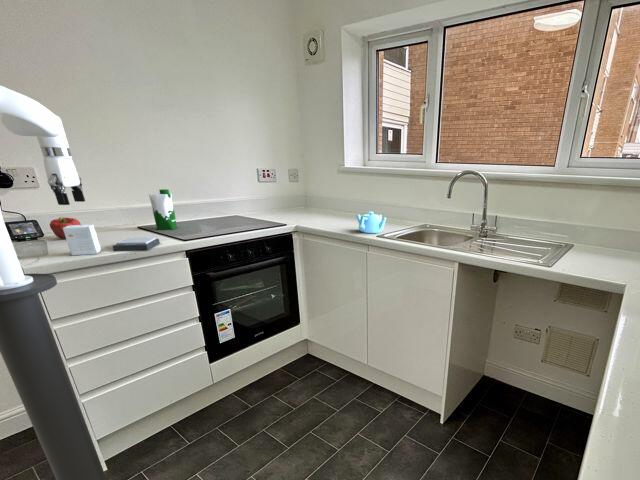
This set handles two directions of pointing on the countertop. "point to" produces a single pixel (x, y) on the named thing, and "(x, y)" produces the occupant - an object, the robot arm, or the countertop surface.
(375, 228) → the teapot
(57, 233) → the vegetable
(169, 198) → the milk carton
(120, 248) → the scale
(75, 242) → the small box
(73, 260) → the countertop surface
